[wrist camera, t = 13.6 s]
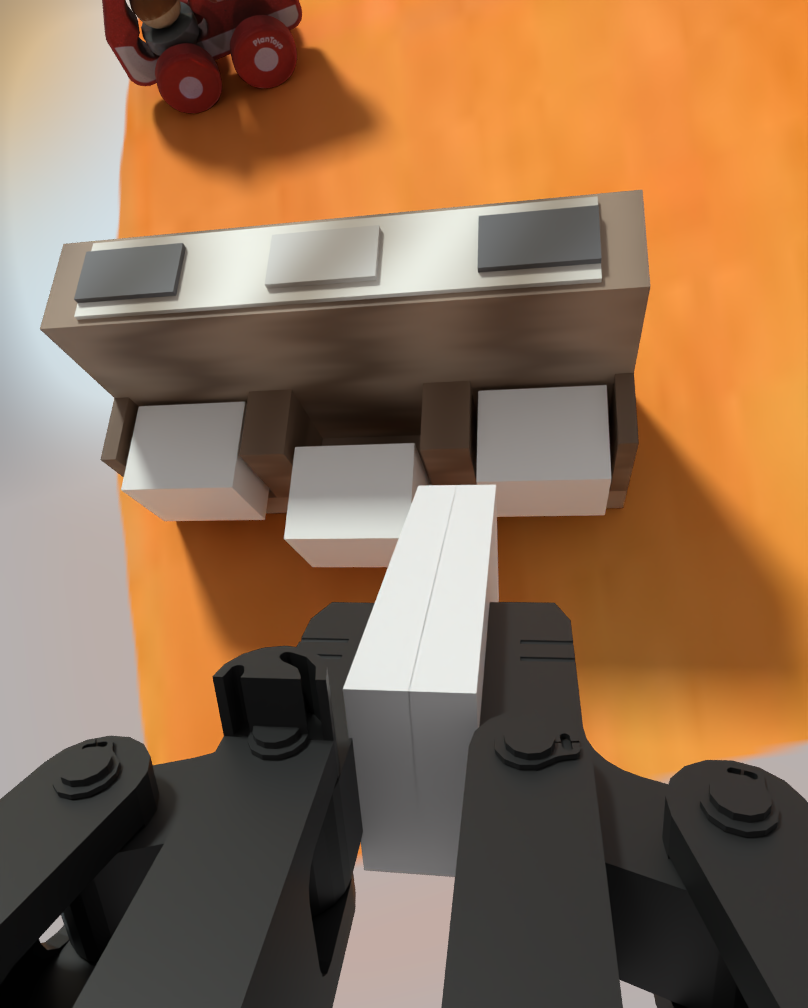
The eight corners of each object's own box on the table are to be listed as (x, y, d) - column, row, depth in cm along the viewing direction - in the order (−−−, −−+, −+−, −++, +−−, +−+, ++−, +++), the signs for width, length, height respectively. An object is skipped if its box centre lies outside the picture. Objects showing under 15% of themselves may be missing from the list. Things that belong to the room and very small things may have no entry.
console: (173, 514, 37) (12, 392, 26) (194, 394, 40) (56, 236, 29) (622, 507, 33) (658, 359, 22) (615, 373, 36) (643, 179, 25)
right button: (484, 516, 32) (476, 481, 28) (486, 433, 33) (478, 390, 30) (604, 515, 31) (611, 478, 27) (600, 429, 32) (606, 384, 29)
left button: (164, 521, 35) (121, 490, 31) (178, 444, 36) (138, 406, 33) (265, 519, 34) (232, 487, 30) (275, 441, 35) (245, 401, 32)
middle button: (312, 567, 32) (284, 538, 29) (321, 483, 34) (294, 446, 30) (425, 567, 31) (409, 538, 28) (429, 480, 33) (414, 443, 29)
